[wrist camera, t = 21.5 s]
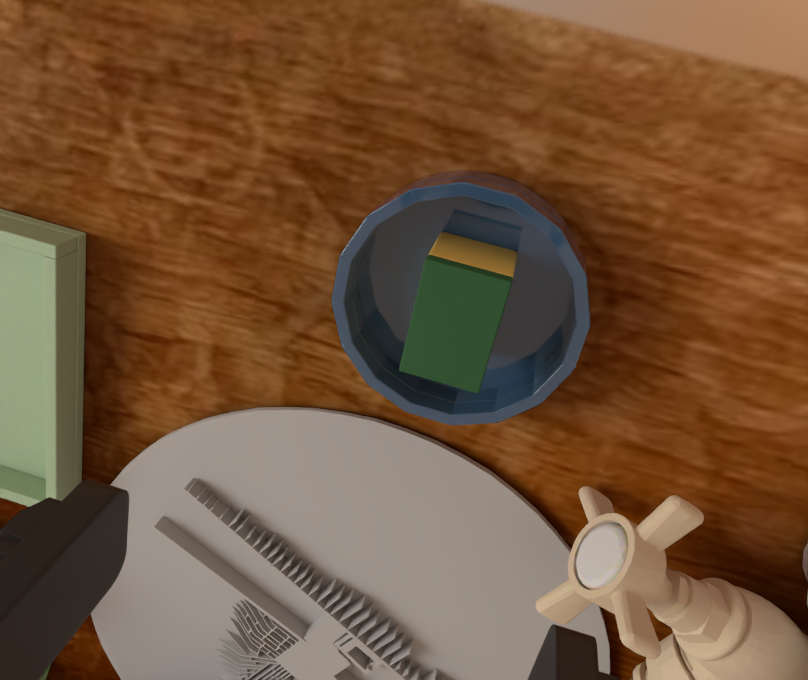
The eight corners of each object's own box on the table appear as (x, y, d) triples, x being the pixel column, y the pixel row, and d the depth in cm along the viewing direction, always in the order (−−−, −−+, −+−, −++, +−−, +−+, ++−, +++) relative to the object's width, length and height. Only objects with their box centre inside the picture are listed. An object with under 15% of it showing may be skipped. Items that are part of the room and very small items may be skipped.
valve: (712, 579, 22) (501, 725, 27) (938, 718, 26) (723, 827, 30) (643, 427, 29) (483, 563, 33) (832, 556, 33) (667, 664, 37)
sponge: (441, 230, 27) (425, 258, 24) (518, 251, 27) (512, 282, 24) (416, 332, 29) (398, 371, 26) (487, 352, 29) (478, 394, 26)
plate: (734, 704, 34) (740, 727, 33) (347, 873, 45) (341, 894, 44) (309, 284, 29) (299, 294, 28) (0, 589, 41) (-15, 605, 40)
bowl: (306, 246, 29) (285, 264, 27) (511, 121, 26) (506, 130, 23) (427, 427, 31) (417, 458, 29) (629, 335, 28) (636, 363, 26)
